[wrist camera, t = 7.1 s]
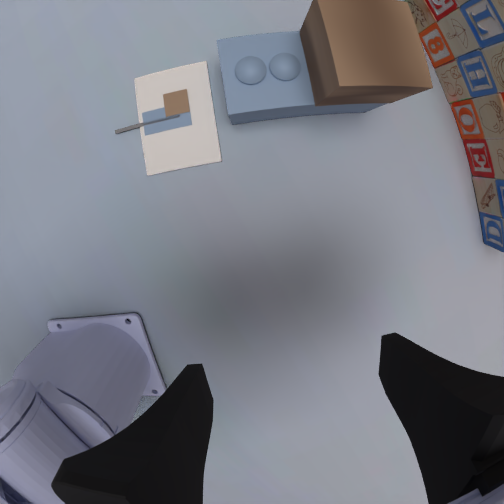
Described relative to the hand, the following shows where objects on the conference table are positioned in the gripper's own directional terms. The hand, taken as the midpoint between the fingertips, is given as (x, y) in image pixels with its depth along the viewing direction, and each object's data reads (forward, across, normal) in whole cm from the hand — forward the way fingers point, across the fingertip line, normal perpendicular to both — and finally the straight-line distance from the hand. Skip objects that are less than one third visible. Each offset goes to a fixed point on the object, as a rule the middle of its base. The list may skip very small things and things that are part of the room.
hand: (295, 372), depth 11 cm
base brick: (+10, -3, -13) cm, 17 cm away
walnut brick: (+6, -5, -13) cm, 15 cm away
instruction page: (+10, +5, -12) cm, 17 cm away
